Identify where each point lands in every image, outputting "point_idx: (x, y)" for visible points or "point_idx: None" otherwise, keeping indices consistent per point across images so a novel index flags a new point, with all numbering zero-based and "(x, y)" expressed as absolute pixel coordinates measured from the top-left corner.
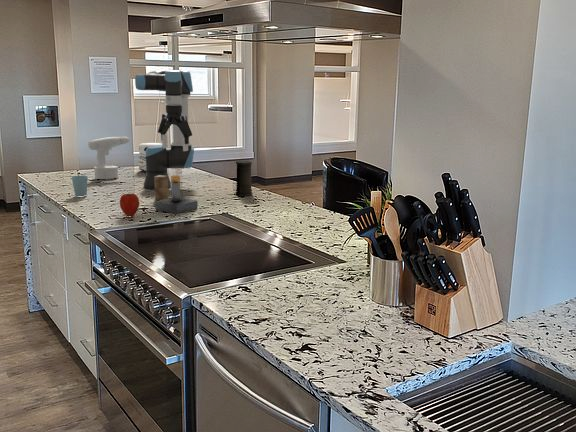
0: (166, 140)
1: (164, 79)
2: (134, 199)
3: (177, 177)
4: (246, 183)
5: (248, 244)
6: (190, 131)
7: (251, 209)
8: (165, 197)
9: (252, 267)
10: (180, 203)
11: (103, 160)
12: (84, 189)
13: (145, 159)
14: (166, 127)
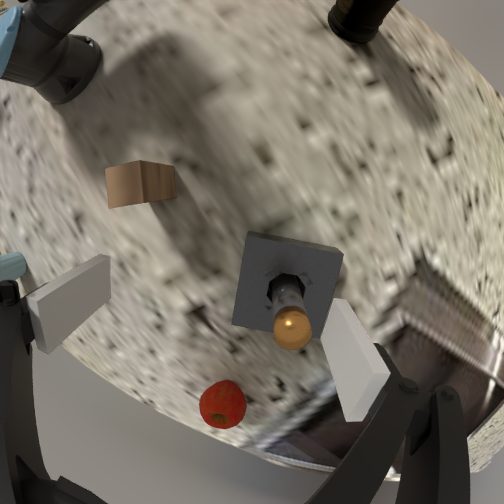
0: (75, 287)
1: None
2: (242, 418)
3: (308, 340)
4: (381, 20)
5: (469, 393)
6: (457, 428)
7: (455, 190)
8: (172, 185)
9: (466, 431)
10: (314, 311)
11: None
12: (16, 271)
13: (2, 11)
14: (35, 423)
